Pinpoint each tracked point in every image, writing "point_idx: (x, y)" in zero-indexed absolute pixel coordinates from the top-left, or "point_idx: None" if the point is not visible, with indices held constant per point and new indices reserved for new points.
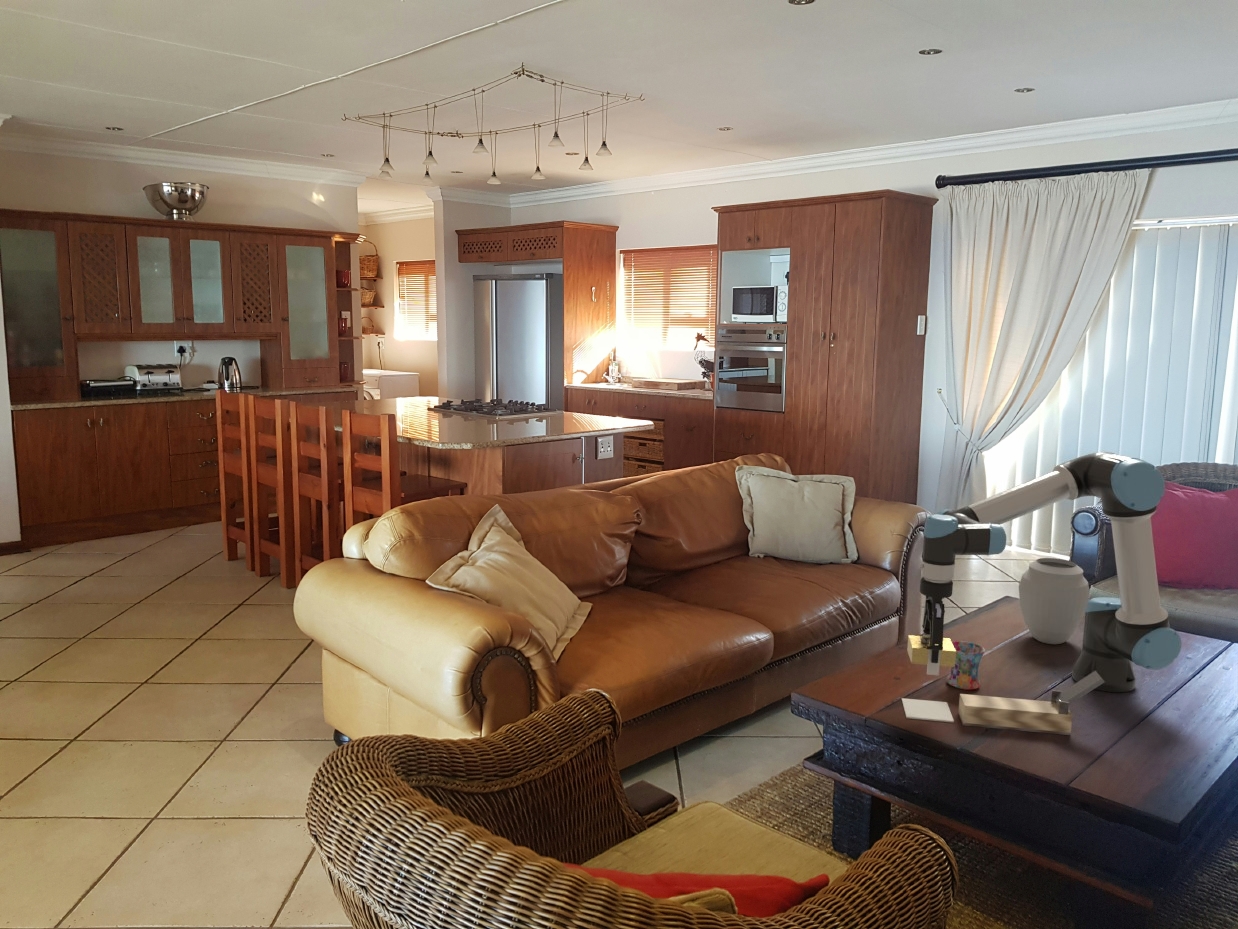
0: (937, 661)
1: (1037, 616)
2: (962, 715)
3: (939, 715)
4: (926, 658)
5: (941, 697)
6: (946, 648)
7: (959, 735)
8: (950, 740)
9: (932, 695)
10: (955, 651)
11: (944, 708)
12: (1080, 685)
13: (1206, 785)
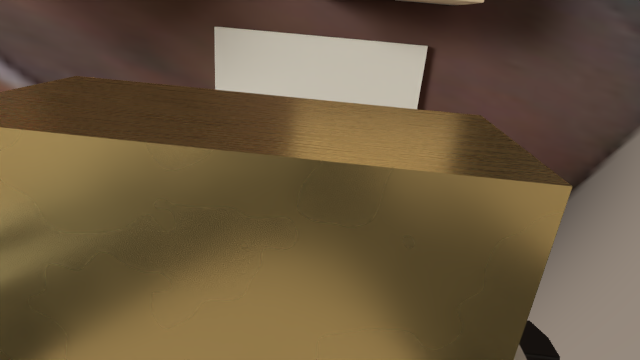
0: (546, 343)
1: None
2: (423, 1)
3: (371, 100)
4: None
5: (145, 33)
6: (429, 302)
7: (561, 53)
8: (607, 108)
9: (134, 72)
10: (565, 194)
11: (290, 57)
12: None
13: None
